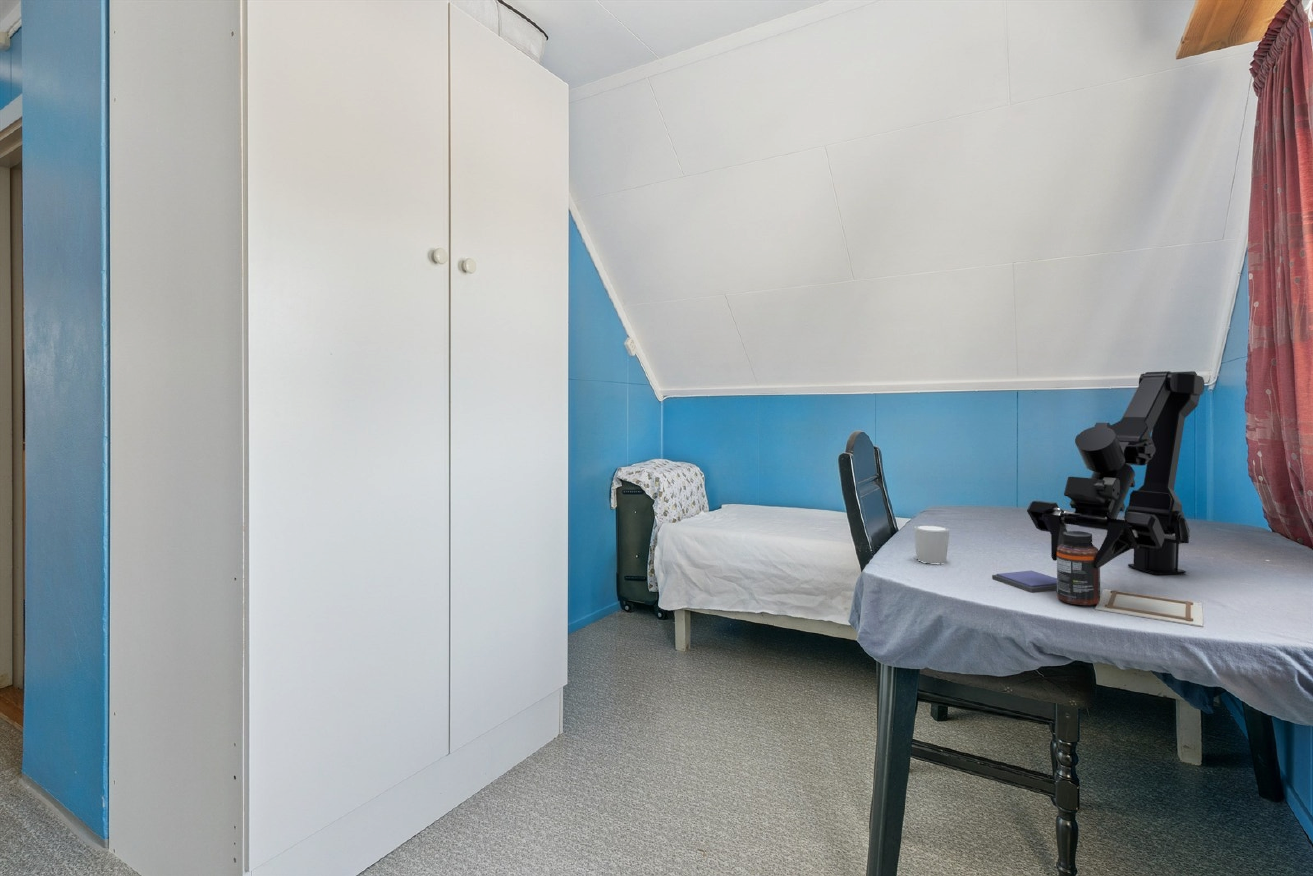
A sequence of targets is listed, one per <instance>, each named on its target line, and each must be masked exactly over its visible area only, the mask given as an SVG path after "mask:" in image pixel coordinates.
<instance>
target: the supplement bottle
mask: <svg viewBox="0 0 1313 876" xmlns="http://www.w3.org/2000/svg"><path fill="white" fill-rule="evenodd" d="M1063 540H1064V542H1063V543H1062V544H1061V545H1059V546H1058V547H1057V560H1056V578H1057V590H1056V591H1057V593H1056V594H1057V598H1058V599H1059V600H1060V601H1062V602H1064V603H1066V604H1071V605H1077V606H1093V605H1097V603H1099V602H1100V597H1101V567H1100V568H1099V569H1096V568H1095V567H1094V565H1093V564H1094V561H1095V558H1096V555H1097V553H1098V551H1099V549H1098V547H1096V546H1095V545H1094V544H1093V534H1092V533H1090V532H1087V531H1080V530H1067V531H1066V532H1064V533H1063Z"/></svg>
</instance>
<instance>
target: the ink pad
mask: <svg viewBox="0 0 1313 876" xmlns="http://www.w3.org/2000/svg"><path fill="white" fill-rule="evenodd" d="M991 579H993V580H995V581H998V582H1000V583H1004V584H1005V585H1010V586H1013V587H1015V588H1018V589H1021V590H1024V591H1027V592H1029V593H1038V592H1039V593H1040V592H1048V591H1057V577H1054V576H1050V575H1049V574H1044V573H1041V572H1038V571H1034V570H1025V571H1014V572H1013V571H1012V572H1001V573H996V574H992V575H991Z"/></svg>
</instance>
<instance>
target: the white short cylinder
mask: <svg viewBox="0 0 1313 876" xmlns="http://www.w3.org/2000/svg"><path fill="white" fill-rule="evenodd" d="M913 531H914V532H913V533H914V543H915V554H916V560H917V559H918V560H920V561H923V562H926V563H945V564H946V563H947V557H948V548H949V540H950V531H951V529H950V528H948V527H945V526H940V525H928V524H927V525H916V526H914V527H913Z"/></svg>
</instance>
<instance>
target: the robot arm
mask: <svg viewBox="0 0 1313 876" xmlns="http://www.w3.org/2000/svg"><path fill="white" fill-rule="evenodd" d="M1204 392H1205V379H1204V377H1203V376H1200V375H1198V373H1197V372H1196V371H1195V370H1194V371H1193V370H1192V371H1191V370H1190V371H1170V370H1168V371H1167V370H1165V371H1161V370H1160V371H1147V372H1145V373H1141V374H1140V375H1139V380H1138V387H1137V388H1136V390H1135V392H1134V394H1133V396H1132V398H1131V399H1130V402H1129V404H1128V406H1127V407H1126V410H1125V411H1124V413H1123V416H1122V418H1121V419H1120V420H1119V421H1117V422H1115V423H1113V424H1110V422H1096V423H1095V425H1094V426H1093V427H1088V428H1086V429H1084V430H1083V431H1081V432H1080V433H1079V434H1077V435H1076V436H1075V440H1074V443H1075V446H1076V448H1077V450H1078V453H1079V454H1080V456H1081V459H1082V460H1083V463H1084V465H1085V468H1086V469H1087V470H1089V471H1092V474H1091V476H1090V477H1083V476H1082V477H1079V476H1068V477H1067V480H1066V484H1065V488H1064V491H1063V495H1064V496H1065V497H1067V498H1068V499H1070V502H1069V505H1070V507H1071V509H1074V512H1071V511H1065V510H1063V509H1062V508H1060V507H1059V505H1058V504H1057V502H1051V501H1043V500H1033V501H1031V502H1030V503H1029V506H1028V507H1027V510H1026V512H1027V514H1028V516H1029V518H1030V519H1031V521H1032V523H1033V524H1034V526H1035V528H1036V529H1037V530H1039V531H1041V532H1048V533H1050V542H1051V543H1050V551H1051V553H1050V554H1051V555H1050V556H1051V559H1052V561H1054V562H1057V547H1058V546H1059V545H1061V544H1062V543H1063V542H1064V540H1063V533H1064V532H1066V531H1068V529H1067V528H1068V526H1069V525H1071V526H1078V527H1080V528H1087V529H1094V530H1100V531H1106V535H1105V537H1104V539H1103V542H1102V544H1101V546H1100V548H1099V549H1098V550H1099V551H1098V553H1097V555H1096V558H1095V561H1094V564H1093V565H1094V567H1095V568H1096V569H1099V568H1100V569H1101V567H1103V566H1104V565H1106V564H1108V563H1109V562H1111V561H1112V560H1114V559H1115V558H1117V557H1119V556H1121V555H1123V554H1125V553H1126V552H1129V551H1130V550H1133V562H1132V563H1127V567H1128V568H1131V569H1136V570H1138V571H1142V572H1146V573H1147V574H1149V573H1150V574H1151V575H1156V576H1157V575H1158V576H1159V575H1176V574H1178V575H1179V574H1186V572H1187V571H1186V570H1184V569H1180V568H1179V551H1180V550H1179V546H1180V545H1181V544H1190V538H1191V537H1190V535H1191V534H1190V532H1191V531H1190V527H1189V525H1188V522H1187V519H1186V517H1185V513H1184V512H1183V505H1182V503H1181V500H1180V498H1179V497H1178V495H1177V494H1176V492H1175V484H1176V479H1177V471H1178V467H1179V459H1180V453H1181V446H1182V439H1183V434H1184V428H1185V427H1184V425H1185V421H1186V418H1187V417H1188V416H1189V415H1190V414H1191V413H1192V412H1193V411H1194V410H1195V409H1196V408H1197V407H1198V406H1199V402H1200V397H1201V396H1202V395H1203V394H1204ZM1145 465H1146V466H1145ZM1132 466H1140V467H1141V466H1145V473H1144V480H1143V484H1141V486H1140V487H1139V488H1138V489H1136V490H1135V489H1134V490H1132V491H1131V492H1130V494H1129V502H1128V505H1127V506H1126V505H1125V503H1124V502H1125V500H1126V498H1127V495H1128V492H1129V490H1130V488H1135V487H1136V481H1135V476H1136V471H1135V470H1134V468H1133V467H1132ZM1120 512H1121V513H1122V512H1124V516H1123V519H1119V518H1118V516H1119V513H1120Z"/></svg>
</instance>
